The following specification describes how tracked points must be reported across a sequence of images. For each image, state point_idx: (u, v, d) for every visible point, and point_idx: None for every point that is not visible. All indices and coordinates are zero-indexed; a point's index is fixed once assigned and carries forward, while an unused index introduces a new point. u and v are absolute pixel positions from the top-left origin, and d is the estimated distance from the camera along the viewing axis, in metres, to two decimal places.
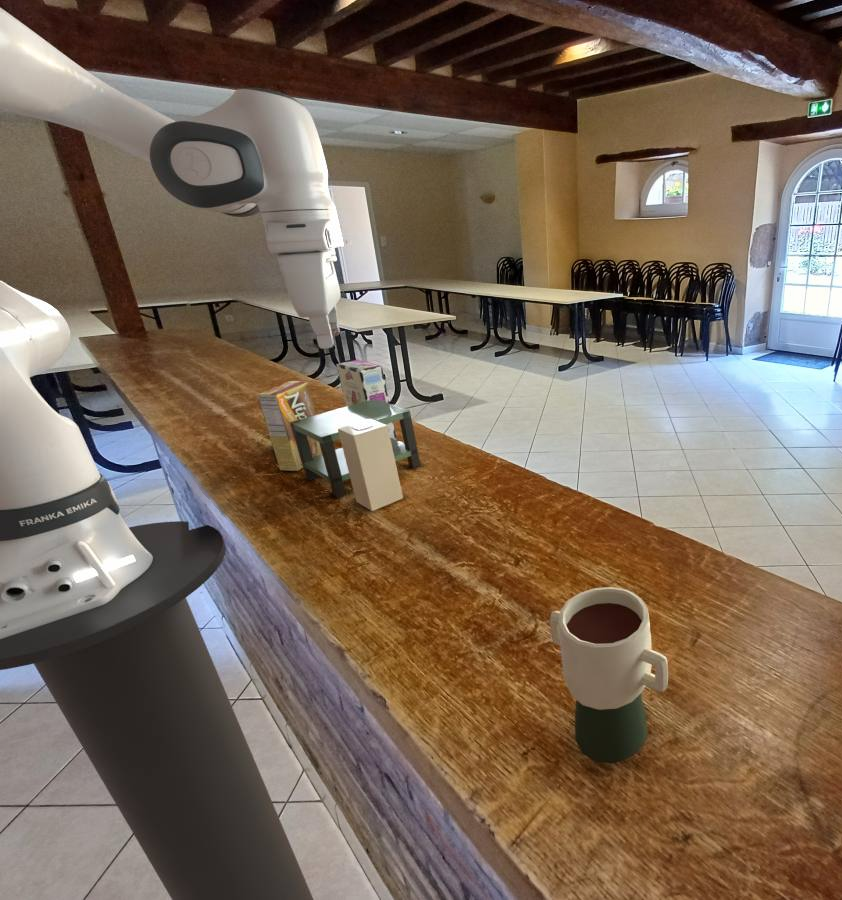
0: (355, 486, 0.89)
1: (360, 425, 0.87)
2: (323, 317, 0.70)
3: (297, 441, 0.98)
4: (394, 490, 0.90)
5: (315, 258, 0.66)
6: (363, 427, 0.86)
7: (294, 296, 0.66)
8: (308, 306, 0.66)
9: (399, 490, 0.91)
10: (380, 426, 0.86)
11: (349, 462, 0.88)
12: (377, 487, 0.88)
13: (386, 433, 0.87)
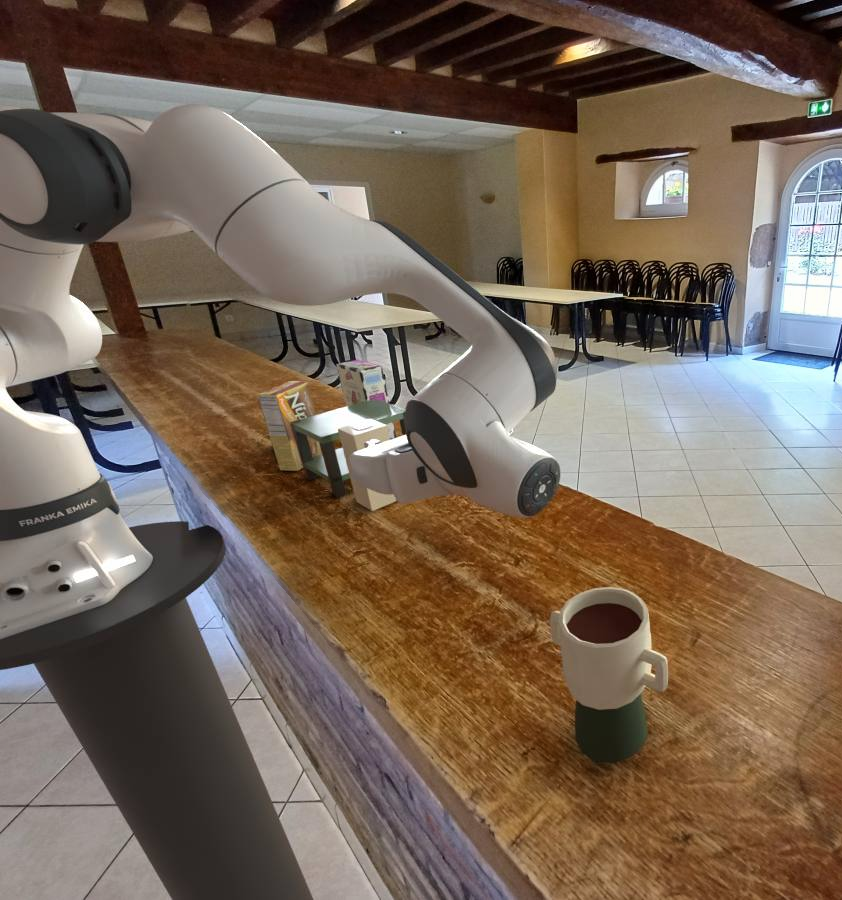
0: (355, 486, 0.89)
1: (360, 425, 0.87)
2: None
3: (297, 441, 0.98)
4: None
5: (384, 489, 0.66)
6: (363, 427, 0.86)
7: (355, 461, 0.67)
8: (352, 468, 0.68)
9: None
10: (380, 426, 0.86)
11: None
12: None
13: (386, 433, 0.87)
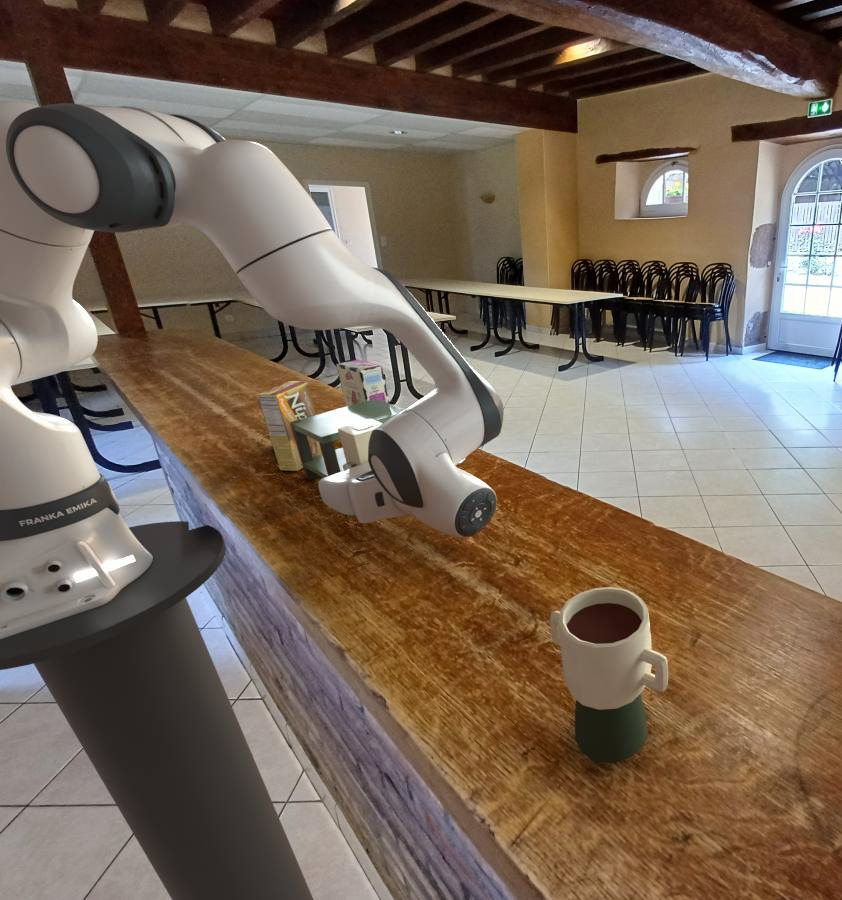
0: None
1: (360, 425, 0.87)
2: None
3: (297, 441, 0.98)
4: None
5: (347, 511, 0.77)
6: (363, 427, 0.86)
7: (323, 486, 0.78)
8: (321, 491, 0.79)
9: None
10: None
11: None
12: None
13: None
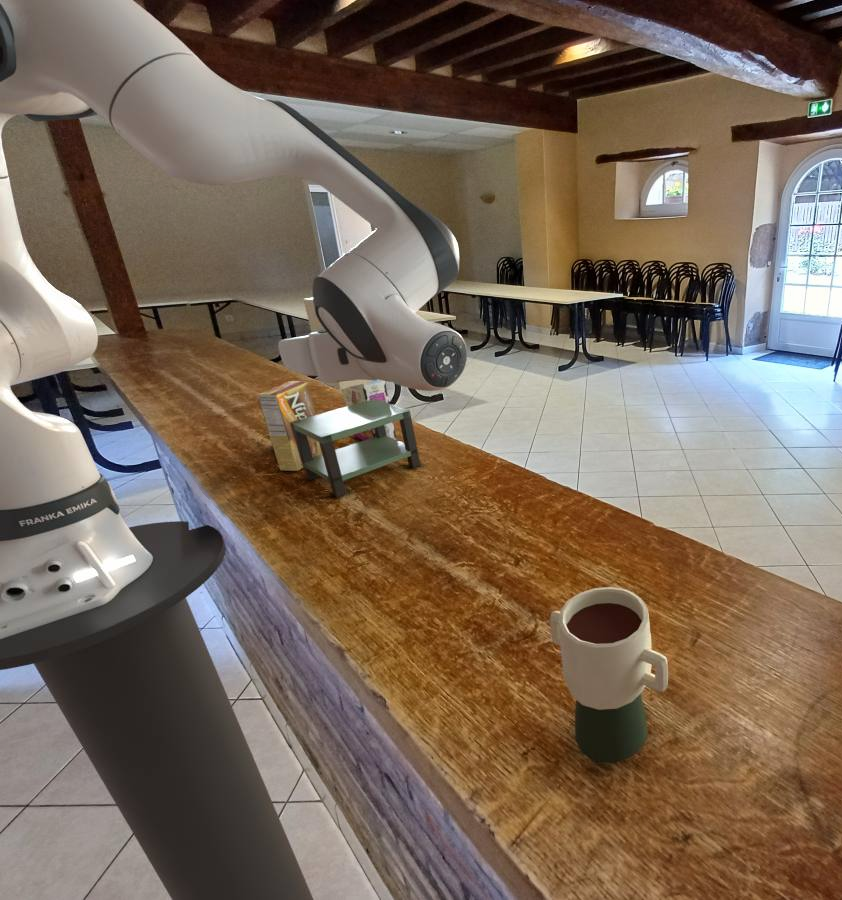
0: None
1: None
2: None
3: (297, 441, 0.98)
4: None
5: (308, 370, 0.72)
6: None
7: (283, 344, 0.72)
8: (281, 353, 0.73)
9: None
10: None
11: None
12: None
13: None
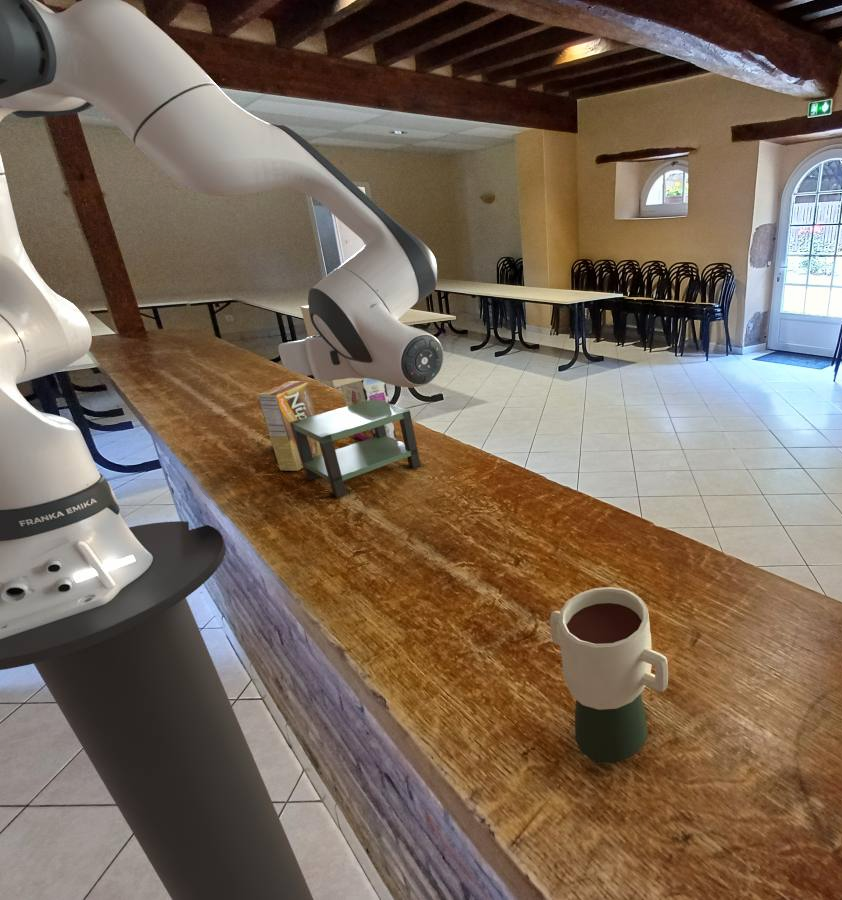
0: None
1: None
2: None
3: (297, 441, 0.98)
4: None
5: (305, 370, 0.81)
6: None
7: (282, 348, 0.82)
8: (281, 355, 0.83)
9: None
10: None
11: None
12: None
13: None
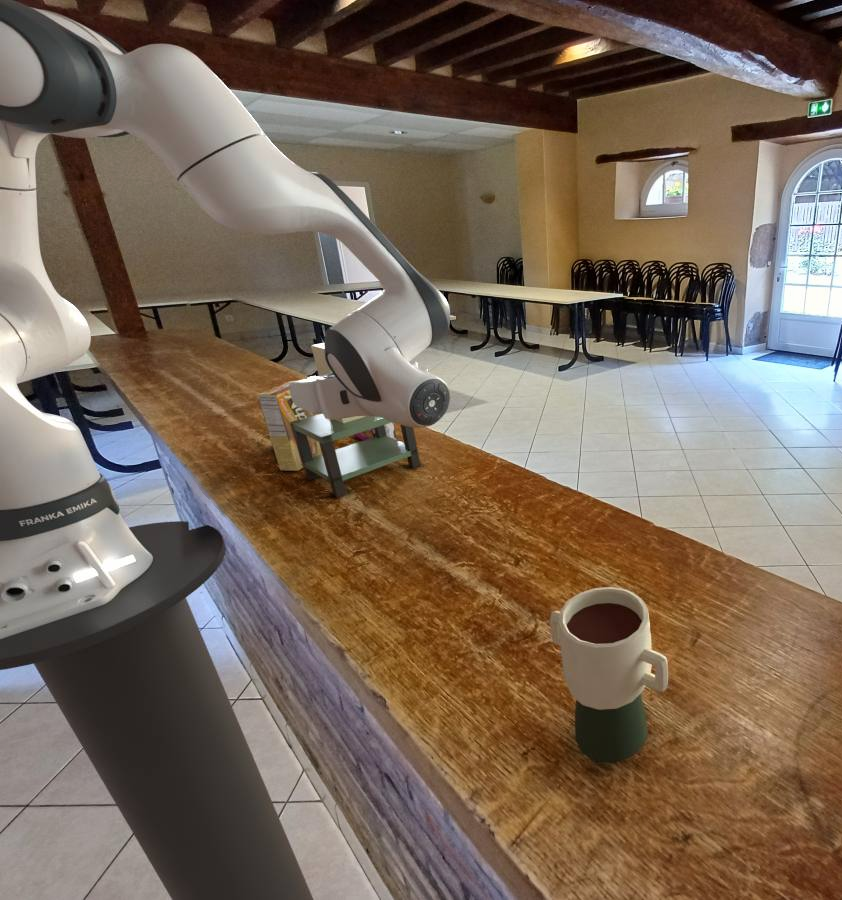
0: None
1: None
2: None
3: (297, 441, 0.98)
4: None
5: (315, 408, 0.84)
6: None
7: (293, 387, 0.84)
8: (291, 393, 0.86)
9: None
10: None
11: None
12: None
13: None
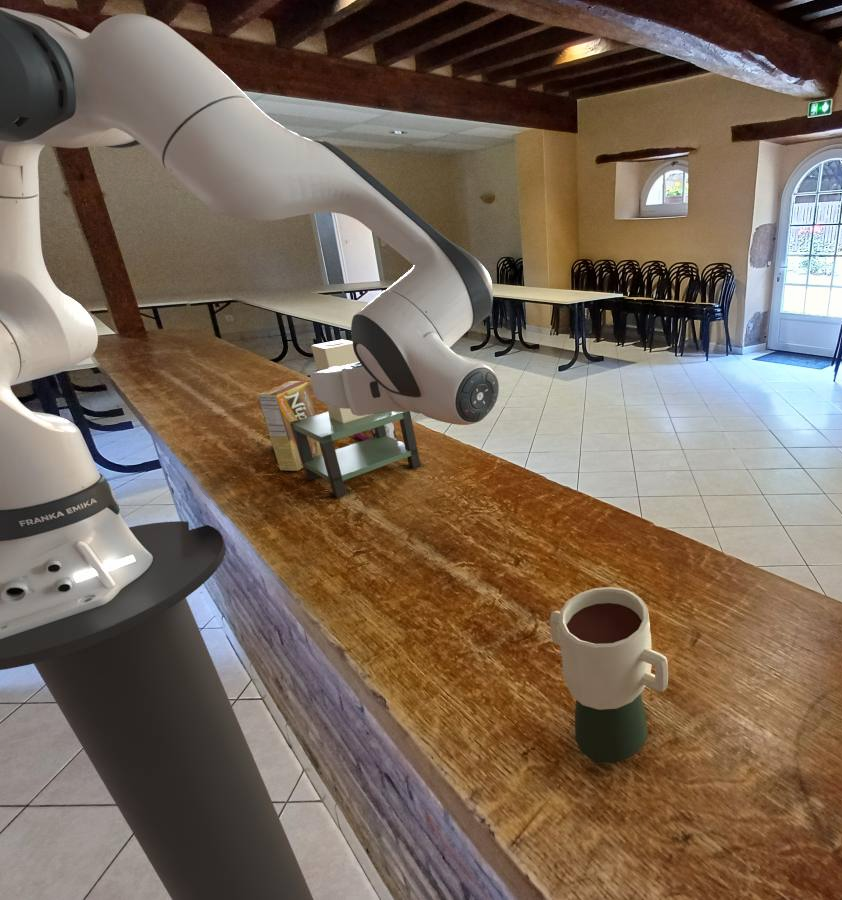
0: None
1: (331, 342, 0.94)
2: None
3: (297, 441, 0.98)
4: None
5: (341, 403, 0.72)
6: (334, 343, 0.93)
7: (315, 377, 0.73)
8: (313, 385, 0.74)
9: None
10: (350, 343, 0.93)
11: None
12: None
13: None
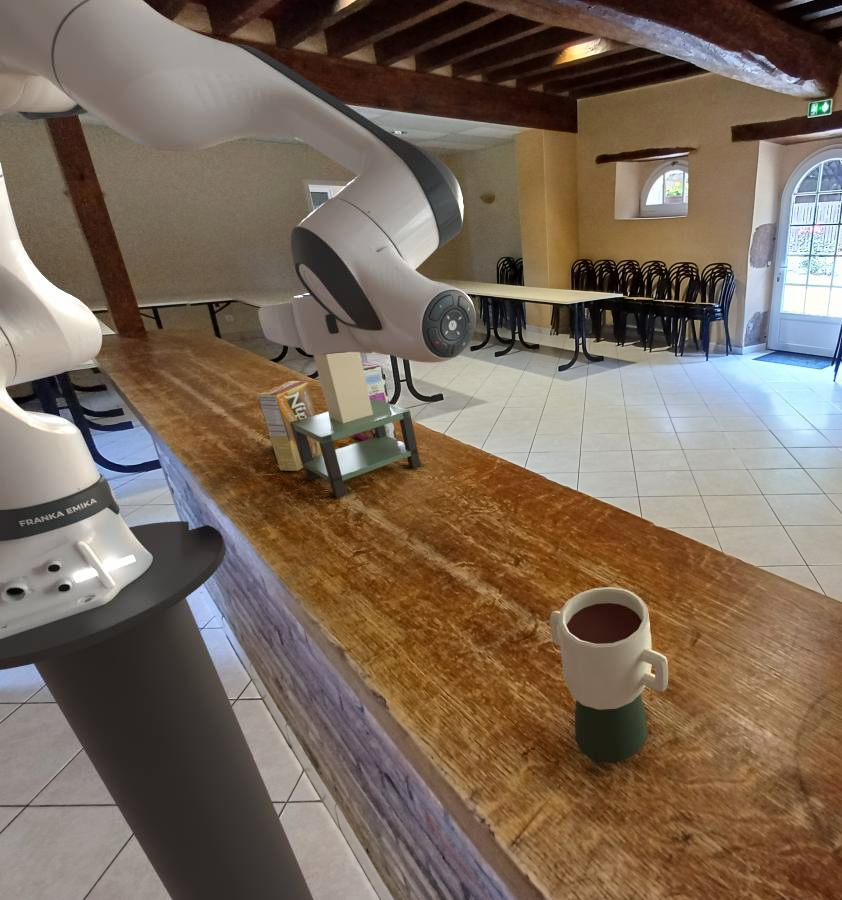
0: (328, 401, 0.96)
1: None
2: None
3: (297, 441, 0.98)
4: (364, 406, 0.97)
5: (293, 340, 0.62)
6: None
7: (263, 312, 0.63)
8: (261, 322, 0.64)
9: (369, 406, 0.98)
10: None
11: (322, 377, 0.95)
12: (348, 401, 0.95)
13: None
